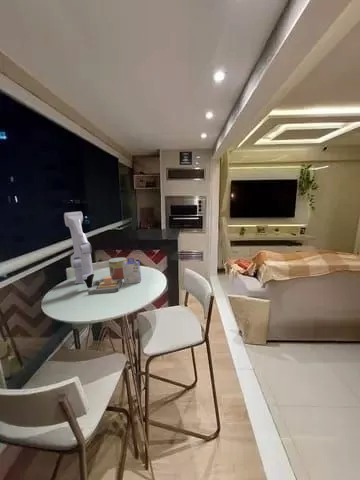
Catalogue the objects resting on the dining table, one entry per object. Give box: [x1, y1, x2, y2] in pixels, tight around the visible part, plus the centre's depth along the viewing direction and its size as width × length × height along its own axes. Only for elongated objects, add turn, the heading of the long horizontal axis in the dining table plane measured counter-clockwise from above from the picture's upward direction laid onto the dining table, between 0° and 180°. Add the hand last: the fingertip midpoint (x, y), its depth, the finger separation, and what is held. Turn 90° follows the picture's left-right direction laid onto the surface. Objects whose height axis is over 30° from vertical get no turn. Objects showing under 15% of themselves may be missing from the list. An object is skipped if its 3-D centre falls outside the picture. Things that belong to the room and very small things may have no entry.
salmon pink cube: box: [103, 275, 112, 286], centre depth 149 cm, size 4×4×4 cm
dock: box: [87, 279, 123, 296], centre depth 149 cm, size 18×16×2 cm
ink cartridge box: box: [122, 257, 142, 285], centre depth 156 cm, size 10×6×14 cm, turn 93°
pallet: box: [97, 281, 118, 289], centre depth 150 cm, size 8×10×2 cm
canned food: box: [107, 256, 128, 281], centre depth 166 cm, size 11×11×12 cm
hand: (89, 287), depth 148 cm, fingers closed
